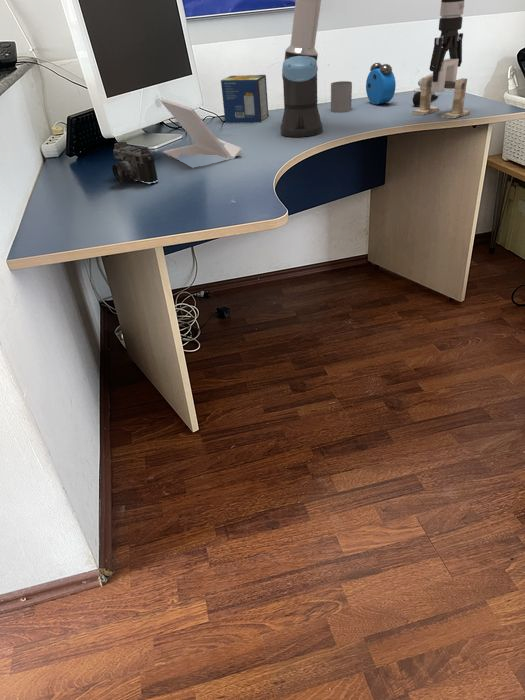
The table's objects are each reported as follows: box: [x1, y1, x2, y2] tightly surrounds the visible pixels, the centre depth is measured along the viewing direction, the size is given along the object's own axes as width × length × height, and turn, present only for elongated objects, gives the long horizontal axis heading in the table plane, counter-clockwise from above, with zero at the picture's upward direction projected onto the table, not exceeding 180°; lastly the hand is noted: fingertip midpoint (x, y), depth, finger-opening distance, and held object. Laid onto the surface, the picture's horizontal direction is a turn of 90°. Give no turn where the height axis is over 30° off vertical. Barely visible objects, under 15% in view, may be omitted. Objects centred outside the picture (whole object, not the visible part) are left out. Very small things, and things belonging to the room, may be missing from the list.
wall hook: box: [413, 72, 436, 95], centre depth 223 cm, size 9×10×10 cm
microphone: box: [412, 92, 439, 107], centre depth 214 cm, size 6×6×20 cm
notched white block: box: [431, 57, 459, 93], centre depth 189 cm, size 9×4×10 cm, turn 131°
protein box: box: [220, 74, 269, 123], centre depth 209 cm, size 10×15×16 cm
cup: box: [330, 80, 353, 113], centre depth 212 cm, size 8×8×10 cm
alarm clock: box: [365, 62, 397, 105], centre depth 215 cm, size 13×6×15 cm, turn 24°
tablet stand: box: [160, 98, 243, 158], centre depth 169 cm, size 18×25×17 cm
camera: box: [112, 141, 159, 183], centre depth 152 cm, size 18×9×10 cm, turn 47°
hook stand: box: [411, 75, 471, 119], centre depth 193 cm, size 10×18×12 cm, turn 41°
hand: (443, 89), depth 192 cm, fingers closed on notched white block, 9 cm apart
